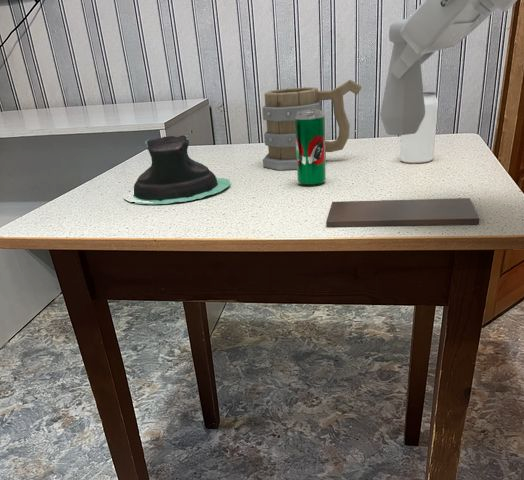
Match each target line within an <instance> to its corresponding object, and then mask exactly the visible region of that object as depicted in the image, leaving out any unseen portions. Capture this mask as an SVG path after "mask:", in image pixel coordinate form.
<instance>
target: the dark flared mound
mask: <svg viewBox="0 0 524 480" xmlns="http://www.w3.org/2000/svg"><path fill="white" fill-rule="evenodd" d="M144 144H145V146H146V149H147V151H148V153H149V156H150V158H151V159H150V160H151V165H150V166H149V167H148V168H147V169H146V170H144V171H143V172H142V173H141V174H140V175H139V176H138V177H137V179H136V182H135V183H134V185H133V189H134V195H133V198H134V199H136V200H141V201H149V202H153V203H143V202H135V203H134V204H139V205H167V204H173V203H181V202H183V203H185V202H188V201H194V200H199V199H202V198H205V197H207V196H211V195H215V194H218V193H220V192H223V191H224V190H226V189H227V188H228V187H230V185H231V181H230V179H228V178H225V177H217V176H216V175H215V174H214V172H212V171H211V170H210V169H209V167H208V166H207V165H204V164H203V163H201V162H199V161H196V160H194V159H193V158H191V157H190V156H189V154H188V153H189V152H188V149H189V145H190V140H189V135H187V134H185V135H179V136H174V135H169V136H163V137H160V138H156V139H147V140H146V141H144Z"/></svg>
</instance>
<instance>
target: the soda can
mask: <svg viewBox="0 0 524 480" xmlns="http://www.w3.org/2000/svg"><path fill="white" fill-rule="evenodd" d="M325 119H326V118H325V115H324V114H323V109H322V110H317V109H315V110H303V111H298V112H297V116H296V118H295V136H296V157H297V170H296V174H297V176H296V177H297V182H298V184H300V185H301V186H304V187H314V186H315V187H316V186H320V185H323V184H324V183H325V181H326V179H327V173H326V171H327V169H326V168H327V167H326V159H325V141H326V127H325V126H326V125H325V124H326V122H325Z"/></svg>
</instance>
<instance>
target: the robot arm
mask: <svg viewBox="0 0 524 480" xmlns="http://www.w3.org/2000/svg"><path fill="white" fill-rule="evenodd" d="M517 1H518V0H423V1H422V3H420V4H419V6H418V7H417V8H416V9H415V10H414V12H413V13H412V14H411V15H410V16H409V17H408V18H407V19H408V20H407V21H406V22H405V24H404V25H403V27H402V29H401V31H400V35H401V36H402V37H403V39H404V40H405V41H406V42H407V43H408V44H407V45H406V47H405V48H404V50H403V52H402V53H401V55H400V57H399V58H398V59H397V61H396V62H395V63H394V64H393V65H392V66H391V72H392V73H393V75H394V76H395V77H396V78H402V77H403V76H404V75H405V74H406V73H407V72H408V71H409V70H410V69H411V68H412V66H413V65H414V64H415V63H416V62H417V60H418V59H419V58H420V61H421V65H422V64H424V63H425V62H426V61H427V60H429V59H430V58H431V57H432V56H433V55H434V54H435V53H436V52H437V51H442V50H446V49H450V48H453V47H455V46H457V45H458V44H459V43H461V42H462V41H463V40H464V39H465V38H467V37H468V36H469V35H470V34H471V33H472V32H473V31H474V30H475V29H477V28H478V27H479V26H480V25H481V24H483V22H484V21H485V20H486V19H488V18H489V17H490V16H491V15H492V14H493V13H494V12H495V11H496V10H497V9H499V10H501V11H502V12H504V13H507V12H508V11H509V10H510V9H511V8H512V7H513V5H515V3H516V2H517Z"/></svg>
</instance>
